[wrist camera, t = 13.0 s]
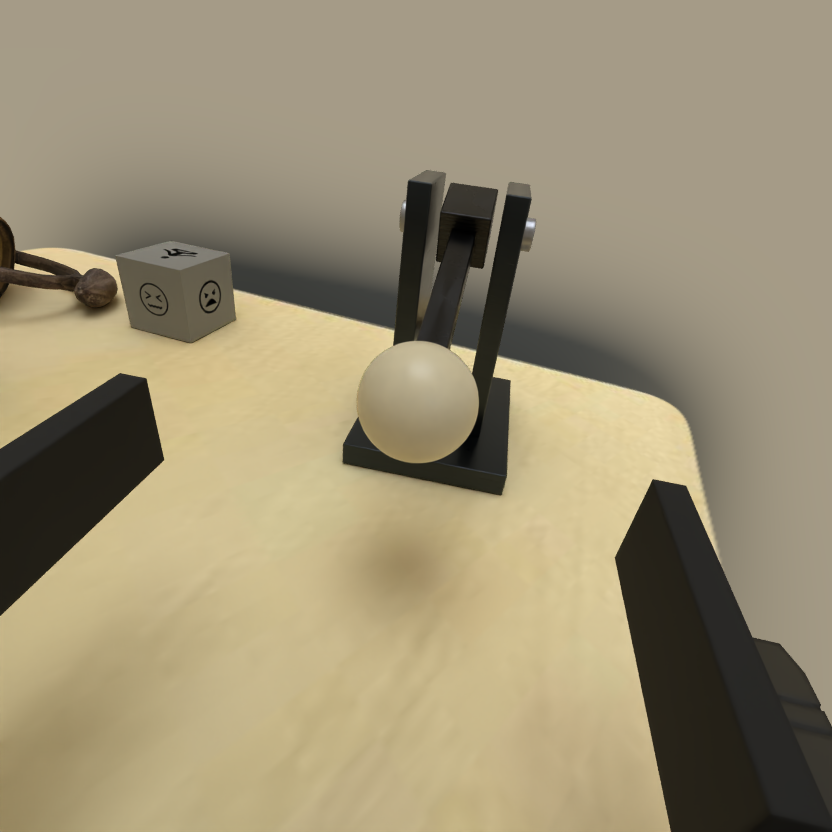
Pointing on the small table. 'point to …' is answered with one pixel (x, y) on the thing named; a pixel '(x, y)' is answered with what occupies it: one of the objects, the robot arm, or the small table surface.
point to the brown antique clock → (88, 288)
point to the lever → (432, 349)
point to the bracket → (488, 441)
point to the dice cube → (177, 289)
